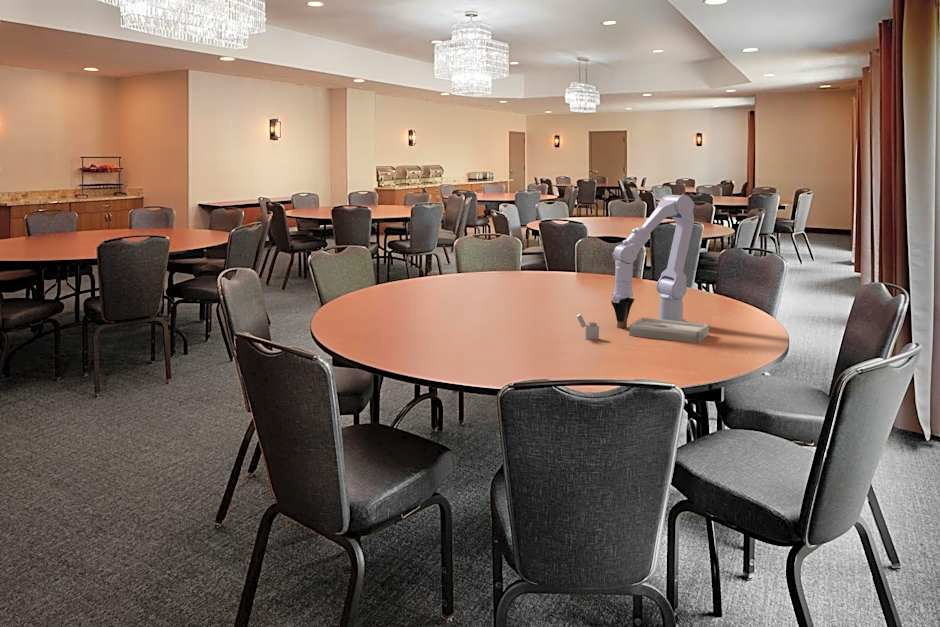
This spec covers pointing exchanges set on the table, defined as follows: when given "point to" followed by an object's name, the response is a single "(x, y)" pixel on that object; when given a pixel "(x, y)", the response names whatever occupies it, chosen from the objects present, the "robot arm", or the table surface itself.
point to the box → (669, 330)
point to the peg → (624, 323)
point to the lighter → (590, 328)
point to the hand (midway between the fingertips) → (622, 320)
